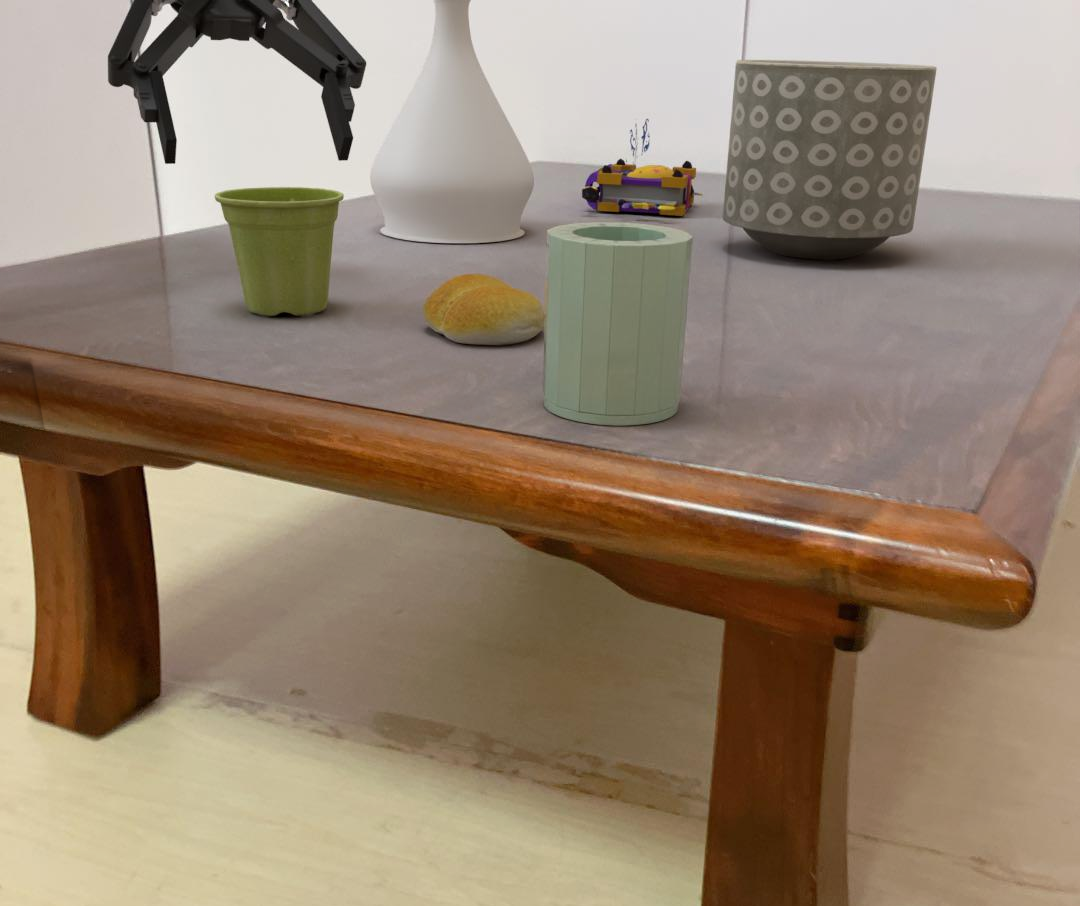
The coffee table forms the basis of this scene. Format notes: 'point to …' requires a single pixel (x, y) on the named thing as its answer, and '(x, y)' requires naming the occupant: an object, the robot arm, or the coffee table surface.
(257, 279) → the plant pot
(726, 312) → the coffee table surface
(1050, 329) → the coffee table surface
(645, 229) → the cup
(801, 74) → the planter
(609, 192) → the multicoloured boxy piece
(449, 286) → the bread roll
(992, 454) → the coffee table surface
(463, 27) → the vase
